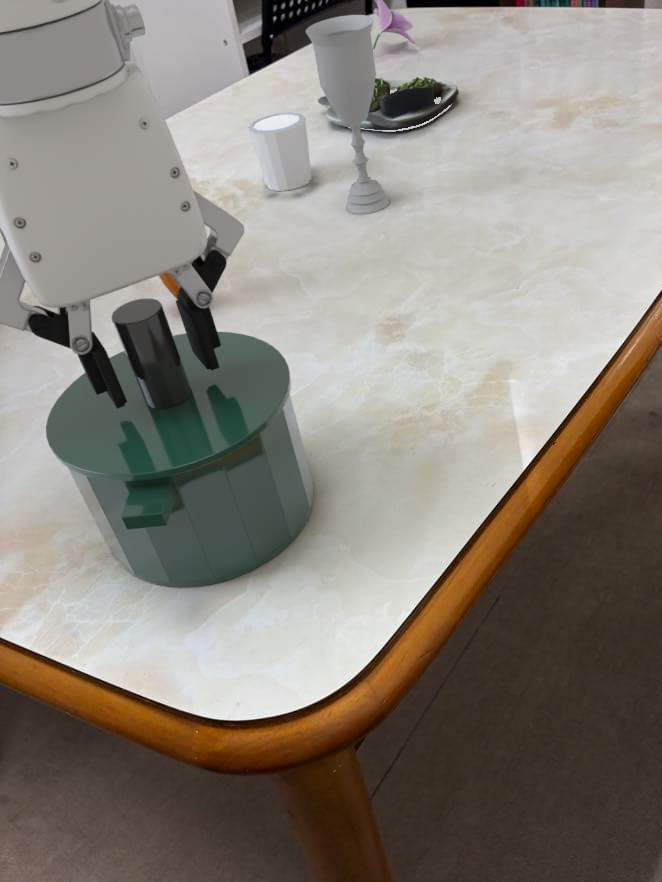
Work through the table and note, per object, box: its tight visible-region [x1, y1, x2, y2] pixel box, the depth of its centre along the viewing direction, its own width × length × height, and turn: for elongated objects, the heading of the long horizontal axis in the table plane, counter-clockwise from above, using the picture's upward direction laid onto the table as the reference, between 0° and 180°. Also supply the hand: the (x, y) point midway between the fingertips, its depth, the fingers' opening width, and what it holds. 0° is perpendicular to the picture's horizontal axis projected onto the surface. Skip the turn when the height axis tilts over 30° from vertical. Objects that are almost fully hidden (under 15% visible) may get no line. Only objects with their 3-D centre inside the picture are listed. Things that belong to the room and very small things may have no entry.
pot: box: [67, 392, 314, 588], centre depth 58 cm, size 15×20×10 cm
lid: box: [45, 297, 292, 481], centre depth 53 cm, size 16×16×7 cm
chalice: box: [305, 14, 390, 215], centre depth 91 cm, size 7×7×18 cm
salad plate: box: [317, 76, 460, 134], centre depth 118 cm, size 19×18×5 cm
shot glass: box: [247, 112, 313, 192], centre depth 103 cm, size 7×7×7 cm
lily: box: [372, 0, 420, 51], centre depth 139 cm, size 12×12×10 cm
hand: (161, 376), depth 53 cm, fingers open, 5 cm apart
